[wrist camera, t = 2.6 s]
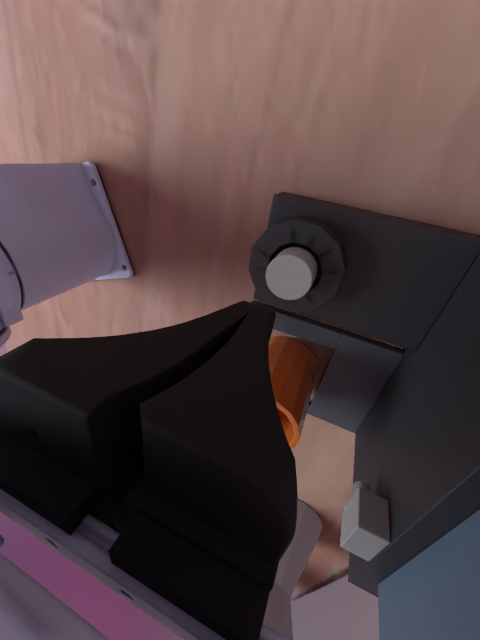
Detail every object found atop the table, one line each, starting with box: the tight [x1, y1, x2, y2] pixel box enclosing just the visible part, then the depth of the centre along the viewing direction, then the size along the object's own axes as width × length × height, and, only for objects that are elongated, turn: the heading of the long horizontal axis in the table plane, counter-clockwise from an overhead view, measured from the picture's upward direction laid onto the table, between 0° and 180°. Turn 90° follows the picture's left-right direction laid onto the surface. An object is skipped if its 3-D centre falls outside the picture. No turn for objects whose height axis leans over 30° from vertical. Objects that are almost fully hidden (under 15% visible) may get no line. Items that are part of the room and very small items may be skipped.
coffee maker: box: [251, 235, 480, 640], centre depth 14 cm, size 17×17×15 cm
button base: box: [249, 192, 480, 351], centre depth 17 cm, size 11×7×4 cm, turn 82°
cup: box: [269, 337, 317, 449], centre depth 21 cm, size 5×5×7 cm
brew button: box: [266, 247, 317, 300], centre depth 16 cm, size 3×3×2 cm
